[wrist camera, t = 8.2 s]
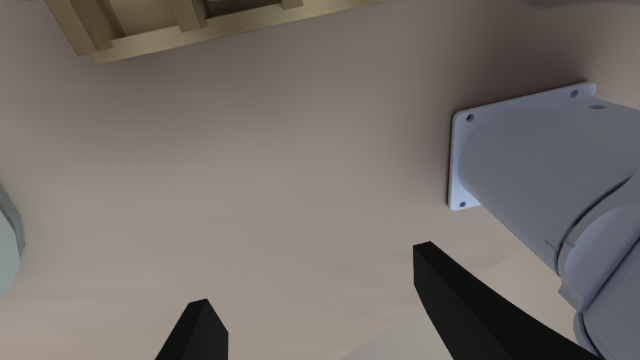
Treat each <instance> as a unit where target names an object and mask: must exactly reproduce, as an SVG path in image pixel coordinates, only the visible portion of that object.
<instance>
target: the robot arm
mask: <svg viewBox="0 0 640 360" xmlns="http://www.w3.org/2000/svg"><path fill="white" fill-rule="evenodd" d="M595 91H596V84H595V83H593V82H583V83H579V84H575V85H570V86H566V87H562V88H557V89H553V90H549V91H544V92H540V93H536V94H531V95H527V96H523V97H518V98H514V99H510V100H505V101H501V102H497V103H492V104H488V105H484V106H479V107H475V108H471V109H466V110H462V111H459V112H457V113H456V114H455V115H454V117H453V122H452V139H451V157H450V175H449V193H448V207H449V208H450V209H451V210H452V211H457V210H461V209H465V208H469V207H474V206H478V205H483V206H484V207H485V208H486V209H487V210H488V211H489V212H490V213H491V214H492V215H493V216H495V217H496V218H497V219H498V220H499V221H500V222H501V223H502V224H503V225H504V226H505V227H506V228H507V229H509V230H510V231H511V232H512V233H513V234H514V235H515V236H516V237H517V238H518V239H519V240H520V241H521V242H523V243H524V244H525V245H526V246H527V247H528V248H529V249H530V250H531V251H532V252H533V253H534V254H535V255H537V256H538V257H539V258H540V259H541V260H542V261H543V262H544V263H545V264H546V265H547V266H549V267H550V268H551V269H552V270H553V271H554V272H555V273H556V274H557V275H558V276H559V277H560V278H561V279H562V284H561V287H560V289H559V291H558V293H559V294H560V295H561V296H562V297H563V298H564V299H565V300H566V301H567V302H568V303H569V304H570V305H571V306H572V307H573V308H574V309H576V313H575V316H574V319H573V330H574V333H575V337H576V340H577V342H578V344H579V345H577V344H576V343H574V342H572V341H570V340H569V339H567V338H565V337H564V336H562V335H560V334H559V333H557V332H555V331H554V330H552V329H551V328H549V327H547V326H546V325H544V324H542V323H541V322H539V321H538V320H536V319H535V318H533V317H531V316H530V315H528V314H527V313H525V312H524V311H522V310H521V309H520V308H518V307H516V306H515V305H514V304H512V303H511V302H509V301H508V300H506V299H505V298H503V297H502V296H501V295H499V294H498V293H496V292H495V291H494V290H492V289H491V288H490V287H488V286H487V285H486V284H484V283H483V282H481V281H480V280H479V279H477V278H476V277H475V276H473V275H472V274H471V273H470V272H468V271H467V270H466V269H464V268H463V267H462V266H461V265H459V264H458V263H457V262H456V261H454V260H453V259H452V258H451V257H449V256H448V255H447V254H446V253H444V252H443V251H442V250H441V249H440V248H438V247H437V246H436V245H435V244H434V243H432V242H431V241H429V242H425V243H421V244H417V245H413V267H414V286H415V288H416V290H417V292H418V295H419V297H420V299H421V302H422V304H423V306H424V308H425V310H426V313H427V314H428V316H429V318H430V320H431V321H432V323H433V325H434V326H435V328H436V330H437V332H438V334H439V335H440V337H441V339H442V340H443V342H444V344H445V346H446V347H447V349H448V351H449V353H450V354H451V356H452V358H453V359H454V360H640V110H637V109H633V108H629V107H626V106H622V105H618V104H614V103H611V102H607V101H603V100H599V99H595V98H594V94H595ZM572 92H573V93H572ZM571 93H572V94H571ZM470 114H471V117H470V118H469V119H468V120H467V117H468V115H470ZM461 202H462V203H461ZM460 203H461V204H460ZM155 360H228V331H227V330H226V328H225V327H224V325H223V323H222V322H221V320H220V319H219V317H218V315H217V314H216V312H215V311H214V309H213V307H212V306H211V304H210V303H209V301H208V299H207V298H206V299H203V300H199V301H195V302H191V303H189V304H188V305H187V307H186V309H185V310H184V312H183V313H182V315H181V317H180V318H179V320H178V322H177V323H176V325H175V327H174V329H173V330H172V332H171V334H170V335H169V337H168V339H167V340H166V342H165V344H164V345H163V347H162V349H161V350H160V352H159V354H158V355H157V357H156V358H155Z"/></svg>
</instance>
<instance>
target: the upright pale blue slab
mask: <svg viewBox="0 0 640 360" xmlns="http://www.w3.org/2000/svg"><path fill="white" fill-rule="evenodd" d="M208 1H214V2H219V3H221V2H225V1H230V0H208Z"/></svg>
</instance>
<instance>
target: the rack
mask: <svg viewBox="0 0 640 360" xmlns="http://www.w3.org/2000/svg"><path fill="white" fill-rule="evenodd" d="M383 1H387V0H230V1H225V2H221V3H219V2H214V1H208V0H45V2H46V3H47V5H48V7H49V9H50V10H51V12H52V14H53V15H54V17H55V19H56V21H57V22H58V24H59V26H60V27H61V29H62V31H63V32H64V34H65V36H66V38H67V39H68V41H69V43H70V44H71V46H72V48H73V50H74V51H75V53H76V55H77V56H79V55H84V54H88V53H89V54H90V55H91V57H92V59H93V61H94V62H95V64H96V65H99V64H104V63H108V62H113V61H117V60H122V59H126V58H131V57H135V56H140V55H144V54H149V53H153V52H158V51H162V50H167V49H171V48H176V47H180V46H185V45H189V44H194V43H198V42H203V41H207V40H212V39H216V38H221V37H225V36H230V35H234V34H239V33H243V32H248V31H252V30H257V29H261V28H266V27H270V26H275V25H279V24H284V23H288V22H293V21H297V20H302V19H306V18H311V17H315V16H320V15H324V14H329V13H333V12H338V11H342V10H347V9H351V8H356V7H360V6H365V5H369V4H374V3H378V2H383Z"/></svg>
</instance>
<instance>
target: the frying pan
mask: <svg viewBox="0 0 640 360" xmlns="http://www.w3.org/2000/svg"><path fill="white" fill-rule="evenodd" d="M24 247H25V241H24V234H23V228H22V222H21V217H20V215H19V213H18V212H17V210H16V209H15V207H14V205H13V204H12V202H11V201H10V199H9V197H8V196H7V194H6V193H5V191H4V189H3V188H2V186H1V185H0V297H2V296H3V295H4V294H5V293H7V292H8V291H9V290H11V287H12V285H13V282H14V280H15V277H16V275H17V273H18V270H19V268H20V265H21V262H20V257H21V254H22V252H23V249H24Z"/></svg>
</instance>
